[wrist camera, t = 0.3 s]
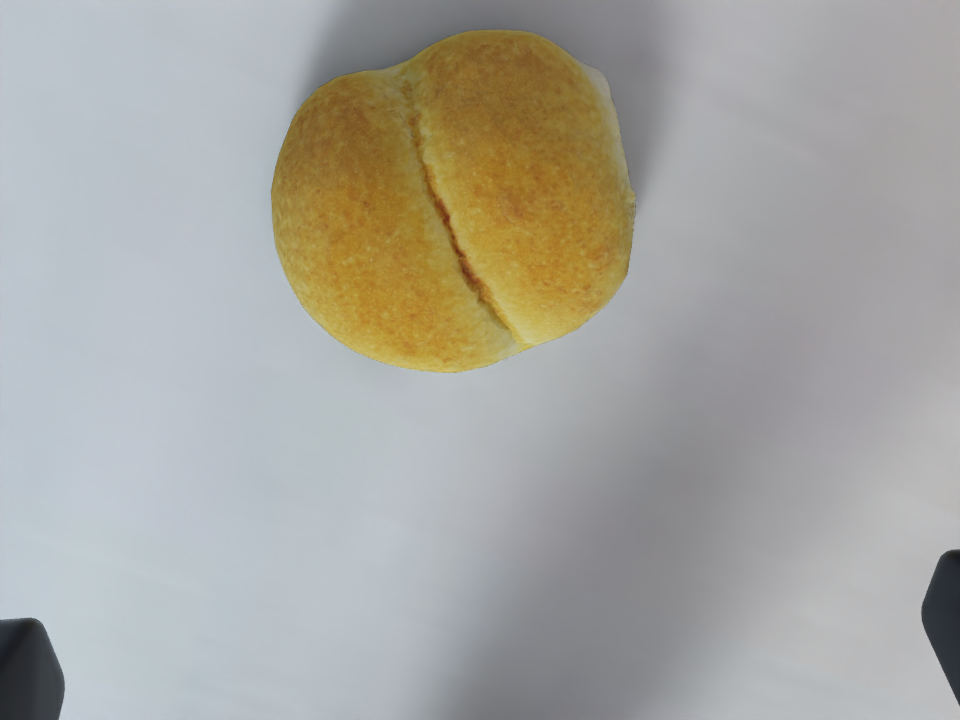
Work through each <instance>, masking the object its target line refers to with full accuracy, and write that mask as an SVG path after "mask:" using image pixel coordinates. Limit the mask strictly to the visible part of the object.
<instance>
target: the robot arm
mask: <svg viewBox="0 0 960 720" xmlns="http://www.w3.org/2000/svg"><path fill="white" fill-rule="evenodd" d="M921 614H922V622H923V626H924V629H925V631H926V634H927V636H928V638H929V640H930V643H931V645H932V647H933V649H934V651H935V653H936V656H937V658H938V660H939V662H940V664H941V667H942V669H943V671H944V673H945V675H946V677H947V680H948V682H949V684H950V686H951V688H952V690H953V693H954V695H955V697H956V699H957V701H958V704H959V706H960V549H957V550H950V551H947V552H946V553H944V554H943V555H942V556H941V557H940V559H939V561H938V564H937V566H936V569H935V572H934V574H933V577H932V580H931V582H930V585H929V588H928V590H927V593H926V595H925V598H924V601H923V604H922V612H921ZM64 690H65V682H64V675H63V672H62V669H61V667H60V664H59V662H58V659H57V657H56V654H55V652H54V649H53V647H52V644H51V642H50V639H49V637H48V635H47V632H46V630H45V628H44V626H43V624H42V623H41V622H40V621H39V620H37V619H35V618H20V619H6V620H0V720H59V716H60V712H61V707H62V703H63V699H64Z"/></svg>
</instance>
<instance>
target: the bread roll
mask: <svg viewBox="0 0 960 720" xmlns="http://www.w3.org/2000/svg"><path fill="white" fill-rule="evenodd" d="M628 175H629V172H628V166H627V162H626V157H625V153H624V149H623V146H622V142H621V133H620V128H619V123H618V118H617V113H616V110H615V107H614V103H613V100H612V98H611V90H610V87H609V84H608V82H607V80H606V78H605V76H604V75H603V74H602V72H601V71H600V70H598V69H595V68H593V67H591V66H589V65H587V64H585V63H583V62H581V61H579V60H577V59H575V58H574V57H573V56H572V55H571V54H569V53H568V52H567V51H566V50H564V49H563V48H561V47H560V46H558V45H556V44H555V43H553V42H552V41H550V40H548V39H546V38H544V37H542V36H540V35H537V34H534V33H531V32H528V31H519V30H474V31H466V32H462V33H459V34H456V35H453V36H449V37H447V38H445V39H442V40H440V41H438V42H436V43H435V44H433V45H431V46H429V47H427V48H426V49H424V50H422V51H421V52H420V53H418V54H417V55H415V56H414V57H413V58H411V59H409V60H407V61H404V62H402V63H399V64H397V65H394V66H391V67H388V68H386V69H379V70H365V71H360V72H356V73H351V74H346V75H342V76H339V77H336V78H334V79H332V80H331V81H329V82H327V83H326V84H324V85H322V86H321V87H319V88H318V89H317V90H316V91H315V92H314V93H313V94H312V95H311V96H310V97H309V98H308V99H307V100H306V101H305V102H304V103H303V104H302V106H301V107H300V108H299V110H298V111H297V113H296V114H295V116H294V118H293V120H292V122H291V125H290V127H289V130H288V132H287V135H286V137H285V140H284V142H283V145H282V148H281V150H280V153H279V156H278V160H277V164H276V167H275V172H274V177H273V183H272V189H271V201H272V220H273V231H274V240H275V246H276V251H277V254H278V257H279V259H280V262H281V265H282V267H283V270H284V273H285V275H286V278H287V280H288V282H289V284H290V285H291V287H292V289H293V291H294V293H295V295H296V296H297V298H298V300H299V302H300V303H301V305H302V306H303V308H304V309H305V310H306V311H307V313H308V314H309V315H310V316H311V317H312V318H313V319H314V320H315V321H316V322H317V323H318V324H319V325H320V326H321V327H322V328H323V329H325V330H326V331H327V332H328V333H329V334H330V335H331V336H333V337H334V338H335V339H336V340H338V341H339V342H341V343H342V344H344V345H345V346H347V347H348V348H350V349H352V350H353V351H355V352H357V353H359V354H362V355H364V356H366V357H369V358H371V359H373V360H376V361H380V362H383V363H386V364H389V365H393V366H398V367H402V368H407V369H413V370H420V371H430V372H442V373H457V372H462V371H468V370H472V369H476V368H481V367H486V366H489V365H491V364H493V363H496V362H498V361H501V360H503V359H506V358H508V357H510V356H513V355H515V354H517V353H520V352H522V351H524V350H526V349H529V348H532V347H534V346H537V345H540V344H543V343H545V342H548V341H551V340H554V339H557V338H560V337H562V336H564V335H566V334H568V333H570V332H572V331H574V330H577V329H578V328H579V327H580V326H582V325H583V324H584V323H585V322H587V321H588V320H589V319H590V318H592V317H593V316H594V315H595V314H596V313H598V312H599V311H600V310H601V309H603V308H604V307H605V306H606V305H607V303H608V302H609V301H610V300H611V299H612V297H613V296H614V295H615V293H616V292H617V290H618V289H619V287H620V286H621V284H622V283H623V281H624V279H625V277H626V276H627V272H628V267H629V260H630V253H631V248H632V239H633V231H634V229H633V225H634V218H635V214H636V210H635V209H636V205H635V196H636V195H635V193H634V191H633V189H632V187H631V184H630V181H629V178H628Z"/></svg>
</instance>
